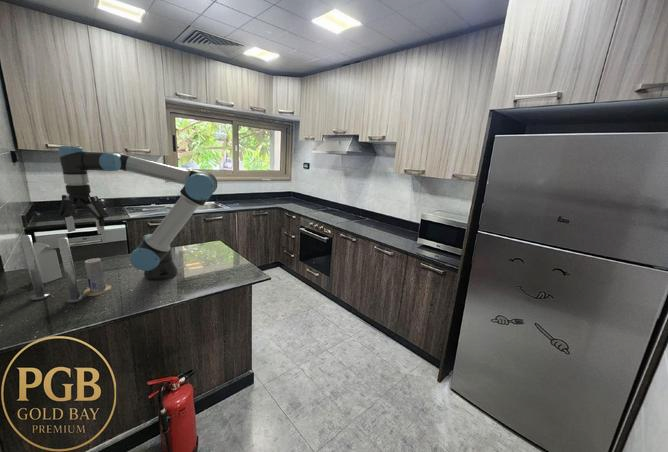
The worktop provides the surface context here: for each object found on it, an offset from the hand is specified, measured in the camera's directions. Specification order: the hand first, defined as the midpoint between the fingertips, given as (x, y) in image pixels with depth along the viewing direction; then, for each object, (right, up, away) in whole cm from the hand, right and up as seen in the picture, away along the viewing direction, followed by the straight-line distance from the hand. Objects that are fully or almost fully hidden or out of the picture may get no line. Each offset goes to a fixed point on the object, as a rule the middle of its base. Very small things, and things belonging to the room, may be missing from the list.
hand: (86, 232), depth 119 cm
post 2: (-4, -30, -1) cm, 30 cm away
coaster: (-2, -28, +7) cm, 29 cm away
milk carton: (-33, -24, +15) cm, 44 cm away
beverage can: (-1, -27, +7) cm, 28 cm away
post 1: (-20, -29, 0) cm, 35 cm away
